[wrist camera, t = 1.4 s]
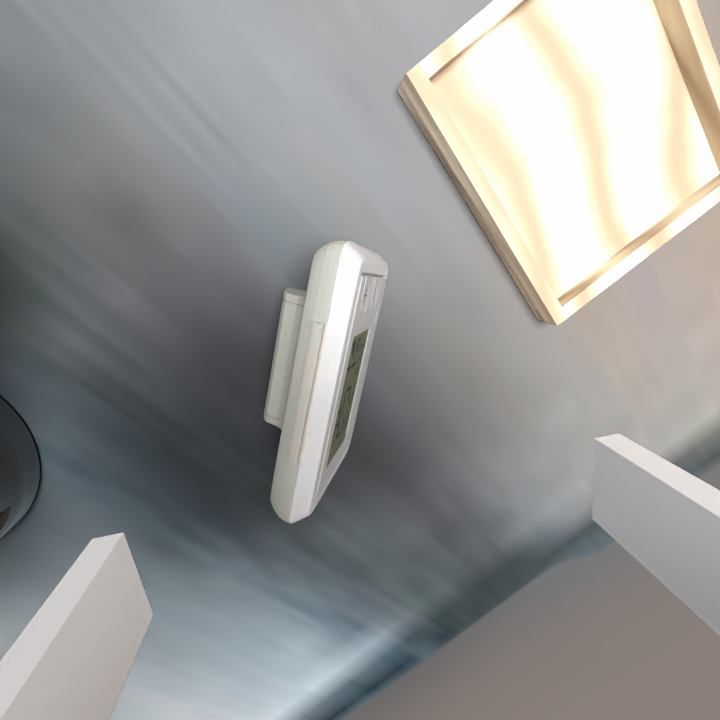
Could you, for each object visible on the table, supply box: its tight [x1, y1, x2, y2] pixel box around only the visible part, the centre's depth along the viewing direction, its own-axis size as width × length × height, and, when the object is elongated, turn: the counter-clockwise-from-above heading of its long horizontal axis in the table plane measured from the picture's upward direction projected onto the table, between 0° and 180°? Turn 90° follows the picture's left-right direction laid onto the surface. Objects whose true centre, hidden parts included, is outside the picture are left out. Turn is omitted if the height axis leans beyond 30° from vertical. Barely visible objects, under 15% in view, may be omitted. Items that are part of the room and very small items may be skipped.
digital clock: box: [264, 240, 388, 523], centre depth 25 cm, size 16×9×11 cm, turn 157°
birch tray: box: [397, 0, 720, 326], centre depth 27 cm, size 18×20×2 cm
